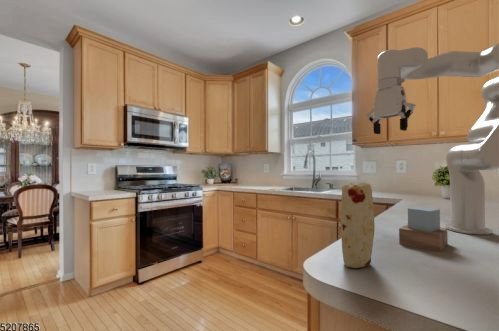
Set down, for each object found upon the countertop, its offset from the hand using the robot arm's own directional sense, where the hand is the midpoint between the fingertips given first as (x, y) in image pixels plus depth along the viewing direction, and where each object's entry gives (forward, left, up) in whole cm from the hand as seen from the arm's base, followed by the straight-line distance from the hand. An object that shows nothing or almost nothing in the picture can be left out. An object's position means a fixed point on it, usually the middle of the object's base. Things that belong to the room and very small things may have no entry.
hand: (389, 132), depth 91 cm
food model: (+38, +14, -36) cm, 55 cm away
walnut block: (+7, +14, -37) cm, 40 cm away
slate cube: (+7, +14, -32) cm, 35 cm away
